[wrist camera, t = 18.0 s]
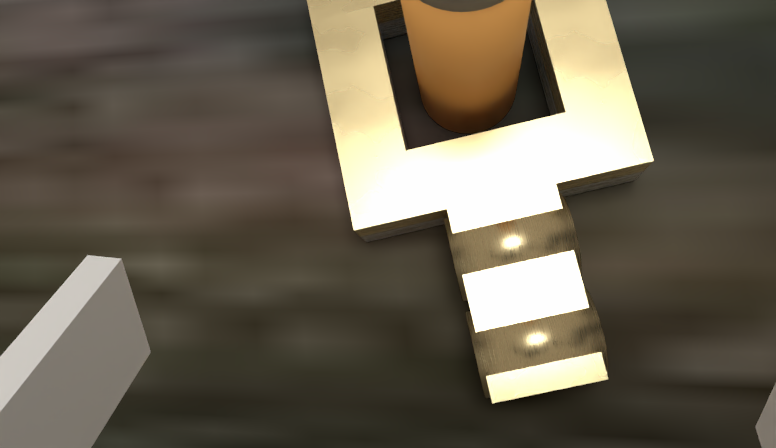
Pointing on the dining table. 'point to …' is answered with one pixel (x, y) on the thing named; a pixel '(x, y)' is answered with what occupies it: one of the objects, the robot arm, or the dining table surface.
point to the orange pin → (467, 58)
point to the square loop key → (494, 182)
